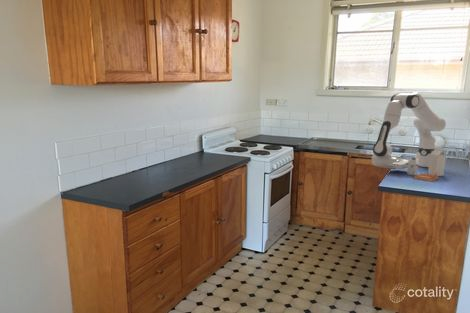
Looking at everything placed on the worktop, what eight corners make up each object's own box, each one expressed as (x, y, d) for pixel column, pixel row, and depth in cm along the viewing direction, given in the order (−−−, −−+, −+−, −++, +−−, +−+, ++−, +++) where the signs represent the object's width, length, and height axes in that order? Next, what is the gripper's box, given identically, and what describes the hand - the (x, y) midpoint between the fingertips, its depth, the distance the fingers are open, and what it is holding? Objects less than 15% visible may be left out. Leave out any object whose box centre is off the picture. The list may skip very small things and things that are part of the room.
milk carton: (435, 176, 269) (438, 149, 266) (427, 174, 276) (430, 148, 272) (443, 176, 271) (446, 149, 267) (435, 173, 278) (439, 147, 274)
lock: (409, 173, 278) (411, 156, 276) (417, 174, 274) (419, 158, 272) (407, 174, 274) (408, 157, 272) (415, 175, 271) (417, 158, 268)
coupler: (419, 175, 272) (420, 169, 271) (438, 178, 264) (438, 172, 263) (413, 178, 262) (413, 172, 261) (432, 181, 254) (433, 175, 253)
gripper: (389, 160, 274) (409, 163, 265) (399, 157, 289) (418, 159, 280) (388, 169, 275) (408, 172, 266) (398, 165, 290) (417, 168, 281)
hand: (413, 166), depth 273 cm, fingers open, 8 cm apart
